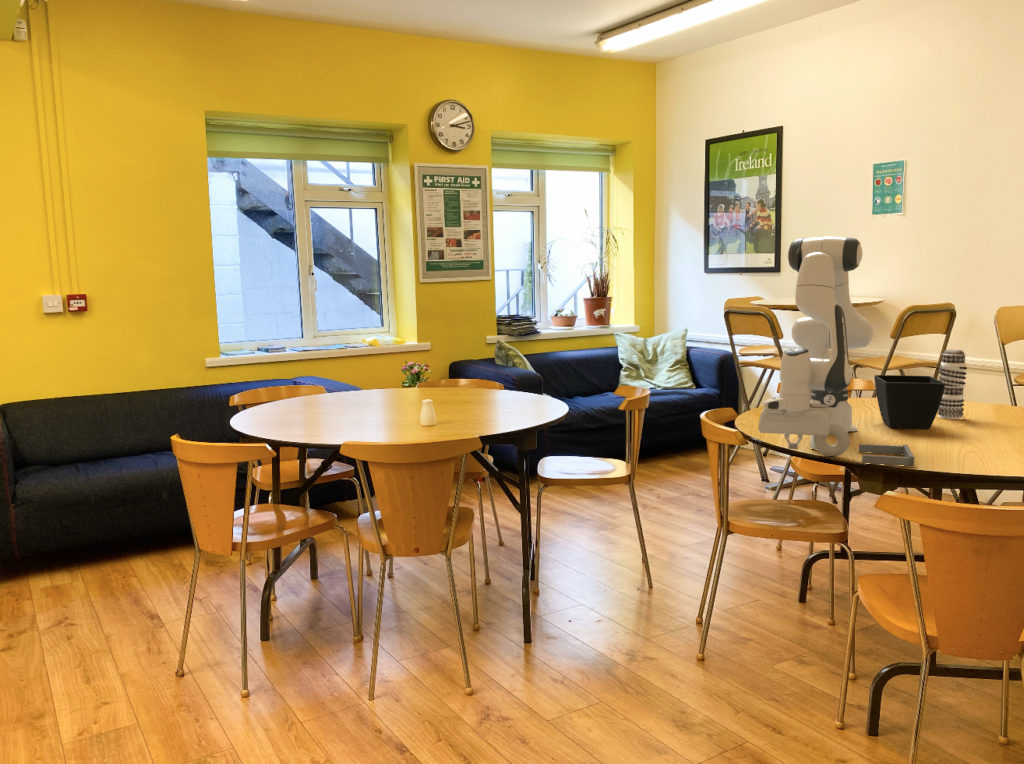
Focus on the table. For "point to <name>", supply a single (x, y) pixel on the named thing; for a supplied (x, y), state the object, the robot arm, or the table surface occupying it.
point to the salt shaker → (812, 442)
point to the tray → (887, 449)
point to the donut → (838, 447)
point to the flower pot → (908, 400)
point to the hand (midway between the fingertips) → (793, 448)
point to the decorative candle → (952, 384)
